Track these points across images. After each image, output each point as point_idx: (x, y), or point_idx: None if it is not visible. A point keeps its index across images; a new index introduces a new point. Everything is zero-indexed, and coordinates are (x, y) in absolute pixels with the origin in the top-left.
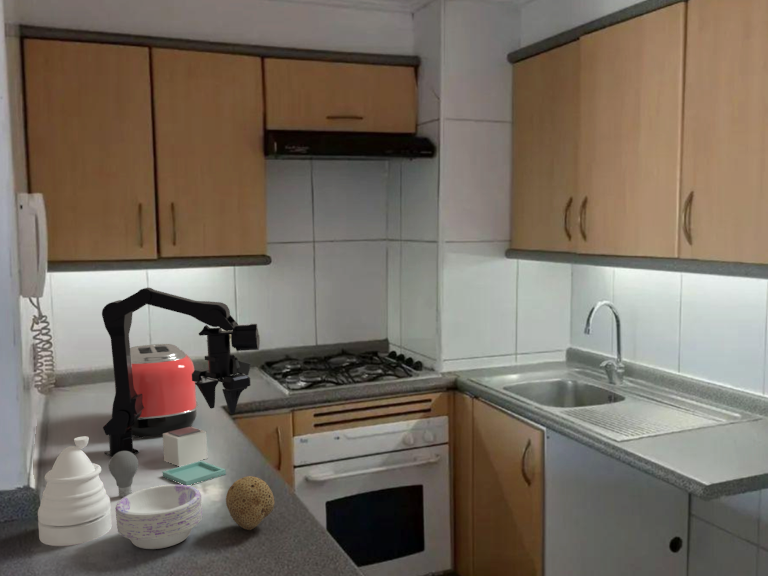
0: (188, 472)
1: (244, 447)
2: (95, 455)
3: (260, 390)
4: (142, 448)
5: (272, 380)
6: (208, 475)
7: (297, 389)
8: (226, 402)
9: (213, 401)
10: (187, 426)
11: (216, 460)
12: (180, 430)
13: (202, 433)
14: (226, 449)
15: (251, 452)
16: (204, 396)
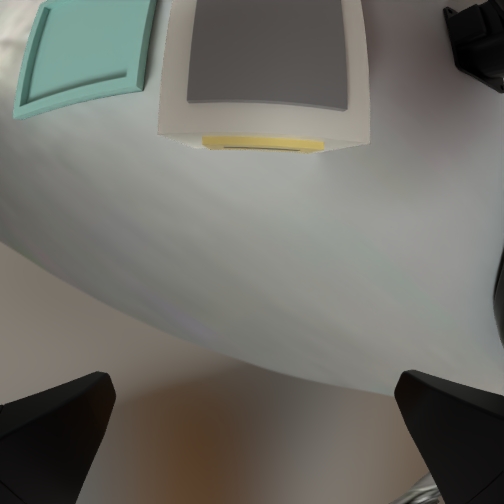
0: (106, 25)
1: (206, 331)
2: None
3: None
4: (482, 110)
5: None
6: (23, 61)
7: (415, 497)
8: (28, 416)
9: (416, 426)
10: (498, 302)
11: (146, 163)
12: (306, 17)
13: (161, 105)
14: (242, 276)
15: (133, 309)
16: (498, 402)
